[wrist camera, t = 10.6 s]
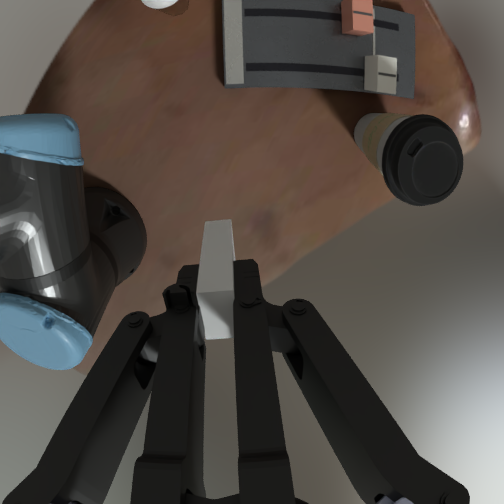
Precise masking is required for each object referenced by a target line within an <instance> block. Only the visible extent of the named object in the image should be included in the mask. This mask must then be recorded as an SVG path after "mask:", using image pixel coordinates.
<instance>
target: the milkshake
mask: <svg viewBox="0 0 504 504" xmlns="http://www.w3.org/2000/svg"><path fill="white" fill-rule="evenodd" d="M142 2H143V3H144V4H145V5H146V6H148V7H150V8H153V9H156V10H159V11H161V12H163V13H165V14H168V15H171V16H177V15H181V14H183V13H184V12H185V11H186V10H187V9H188V6H189V0H142Z"/></svg>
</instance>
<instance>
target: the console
mask: <svg viewBox="0 0 504 504" xmlns="http://www.w3.org/2000/svg"><path fill="white" fill-rule="evenodd" d="M341 1H343V0H222V19H223V53H224V82H225V88H247V87H297V88H321V89H336V90H348V91H359V92H368V93H377V94H385V95H392V96H399V97H405V98H411V99H414V84H415V17H414V15H412V14H409V13H405V12H401V11H397V10H393V9H388V8H384V7H379V6H374V5H373V28H374V33H371V34H367V35H363V36H356V35H349V34H342V15H341ZM371 55H382V56H388V57H393V58H397V78H396V94H389V93H382V92H375V91H369V90H364V79H365V56H371Z"/></svg>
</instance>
